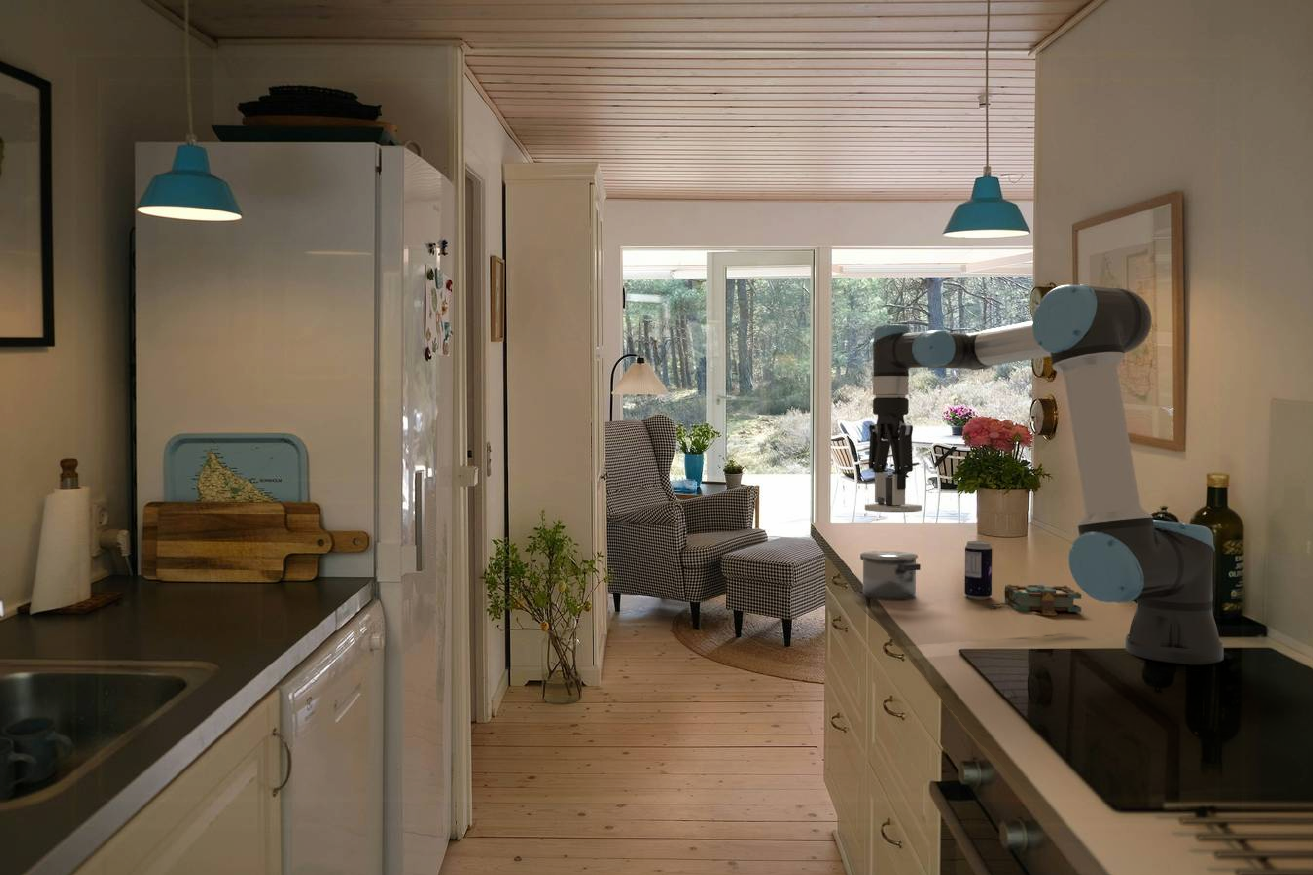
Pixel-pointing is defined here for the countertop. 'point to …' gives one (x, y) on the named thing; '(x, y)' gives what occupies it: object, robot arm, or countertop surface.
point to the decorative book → (1041, 598)
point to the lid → (888, 506)
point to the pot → (889, 575)
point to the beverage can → (978, 570)
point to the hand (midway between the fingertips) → (889, 503)
